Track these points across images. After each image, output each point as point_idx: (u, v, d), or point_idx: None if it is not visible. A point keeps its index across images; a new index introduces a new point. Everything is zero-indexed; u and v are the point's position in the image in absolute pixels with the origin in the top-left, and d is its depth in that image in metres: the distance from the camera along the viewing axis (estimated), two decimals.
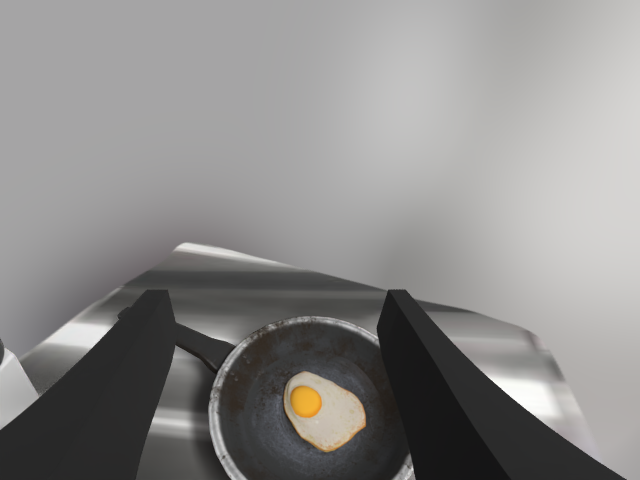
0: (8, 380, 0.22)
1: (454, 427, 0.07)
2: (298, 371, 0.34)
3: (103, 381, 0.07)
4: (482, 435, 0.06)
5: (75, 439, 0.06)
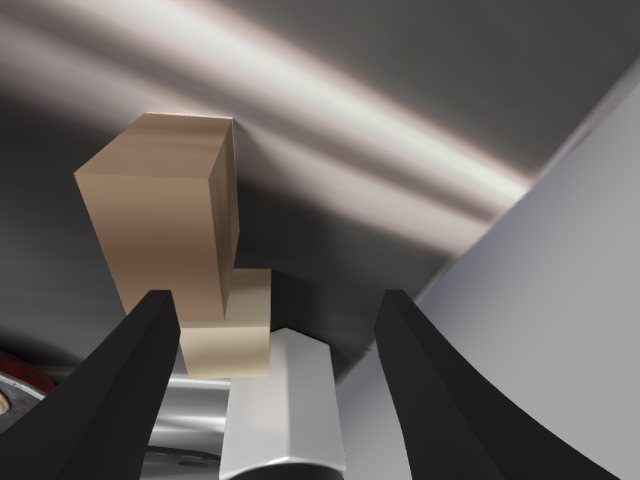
0: None
1: (450, 427, 0.07)
2: (1, 415, 0.29)
3: (108, 381, 0.07)
4: (477, 435, 0.06)
5: (81, 439, 0.06)
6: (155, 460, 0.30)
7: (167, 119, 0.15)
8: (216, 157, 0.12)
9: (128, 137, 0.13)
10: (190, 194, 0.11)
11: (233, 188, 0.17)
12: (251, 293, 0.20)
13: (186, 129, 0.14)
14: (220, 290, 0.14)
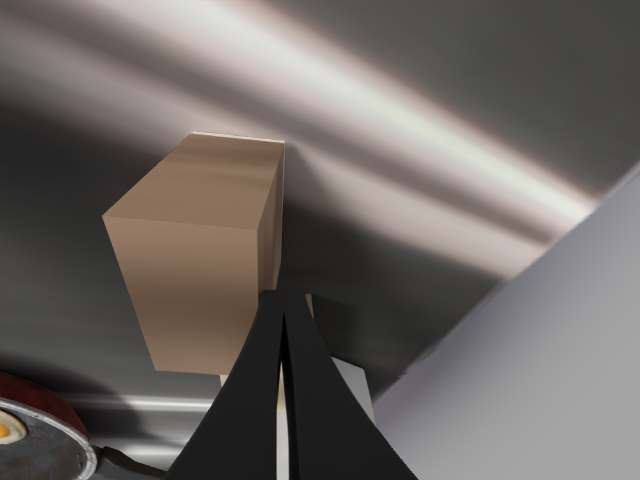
0: None
1: (295, 437, 0.07)
2: (17, 441, 0.27)
3: (272, 375, 0.07)
4: (303, 447, 0.06)
5: (274, 427, 0.06)
6: None
7: (213, 142, 0.13)
8: (266, 196, 0.10)
9: (169, 165, 0.11)
10: (234, 245, 0.09)
11: (279, 219, 0.15)
12: None
13: (234, 155, 0.12)
14: None
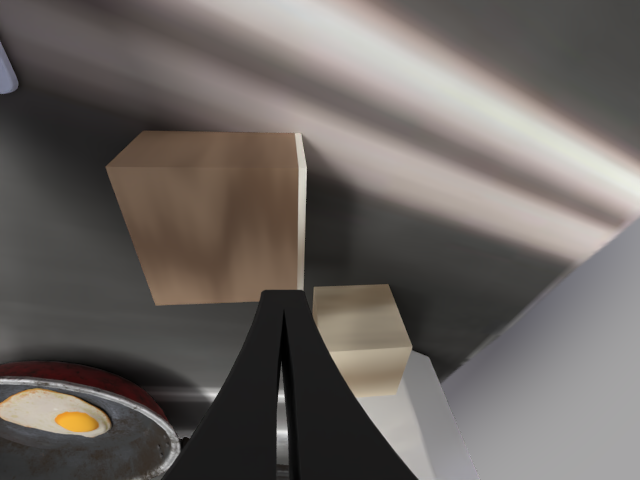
0: None
1: (295, 437, 0.07)
2: (101, 434, 0.29)
3: (271, 375, 0.07)
4: (304, 447, 0.06)
5: (274, 427, 0.06)
6: None
7: (277, 140, 0.14)
8: (161, 166, 0.11)
9: (220, 134, 0.14)
10: None
11: (273, 239, 0.14)
12: (380, 311, 0.20)
13: (248, 150, 0.13)
14: (146, 275, 0.14)
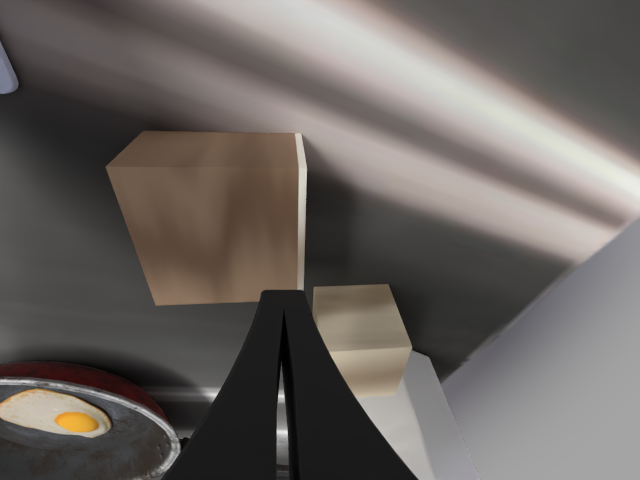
0: None
1: (295, 437, 0.07)
2: (101, 434, 0.29)
3: (271, 375, 0.07)
4: (304, 447, 0.06)
5: (274, 427, 0.06)
6: None
7: (277, 141, 0.14)
8: (161, 166, 0.11)
9: (220, 134, 0.14)
10: None
11: (273, 239, 0.14)
12: (380, 311, 0.20)
13: (249, 150, 0.13)
14: (146, 275, 0.14)
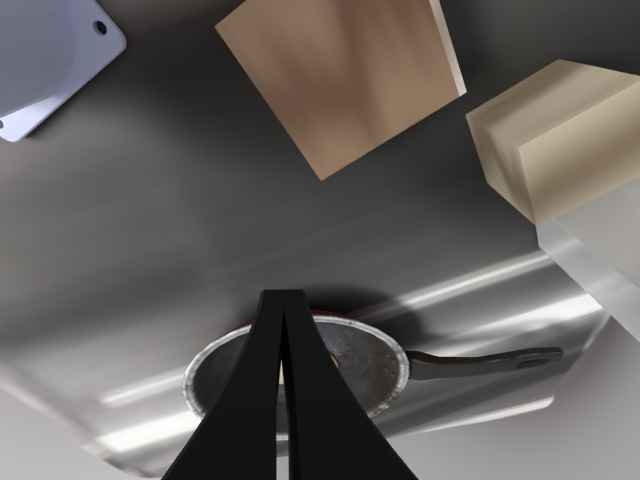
0: (633, 323, 0.17)
1: (295, 437, 0.07)
2: None
3: (271, 375, 0.07)
4: (304, 447, 0.06)
5: (274, 427, 0.06)
6: (491, 370, 0.28)
7: None
8: None
9: None
10: None
11: (402, 18, 0.11)
12: (568, 81, 0.15)
13: None
14: (298, 147, 0.14)
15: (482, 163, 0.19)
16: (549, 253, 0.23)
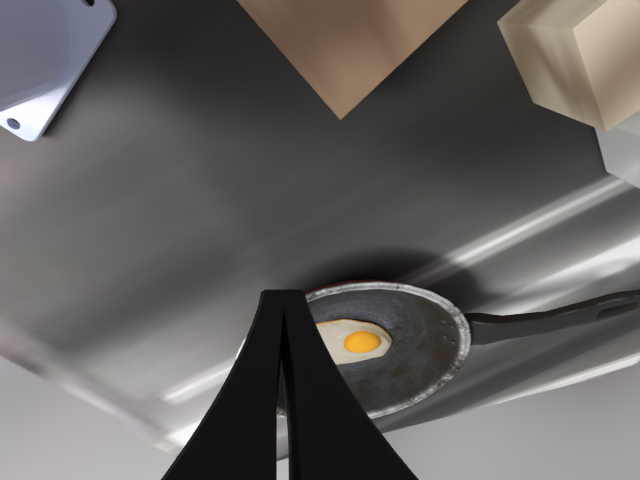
0: None
1: (295, 437, 0.07)
2: (388, 350, 0.30)
3: (272, 375, 0.07)
4: (304, 447, 0.06)
5: (274, 427, 0.06)
6: (566, 324, 0.24)
7: None
8: None
9: None
10: None
11: None
12: None
13: None
14: (309, 82, 0.12)
15: (525, 78, 0.17)
16: (620, 175, 0.19)
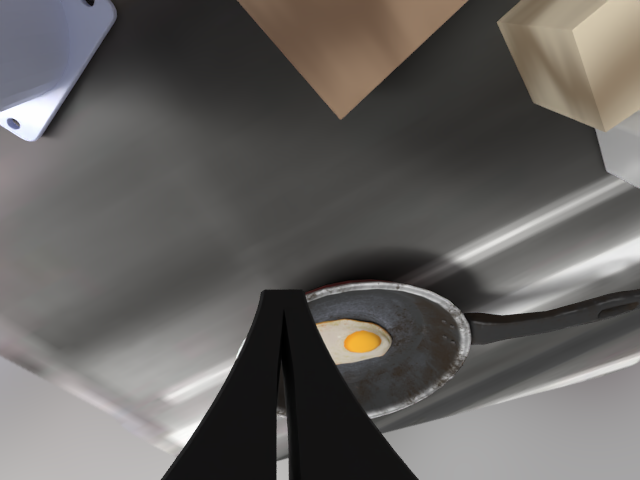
0: None
1: (295, 437, 0.07)
2: (388, 350, 0.30)
3: (272, 375, 0.07)
4: (304, 447, 0.06)
5: (274, 427, 0.06)
6: (566, 323, 0.24)
7: None
8: None
9: None
10: None
11: None
12: None
13: None
14: (309, 82, 0.12)
15: (524, 78, 0.17)
16: (620, 175, 0.19)
